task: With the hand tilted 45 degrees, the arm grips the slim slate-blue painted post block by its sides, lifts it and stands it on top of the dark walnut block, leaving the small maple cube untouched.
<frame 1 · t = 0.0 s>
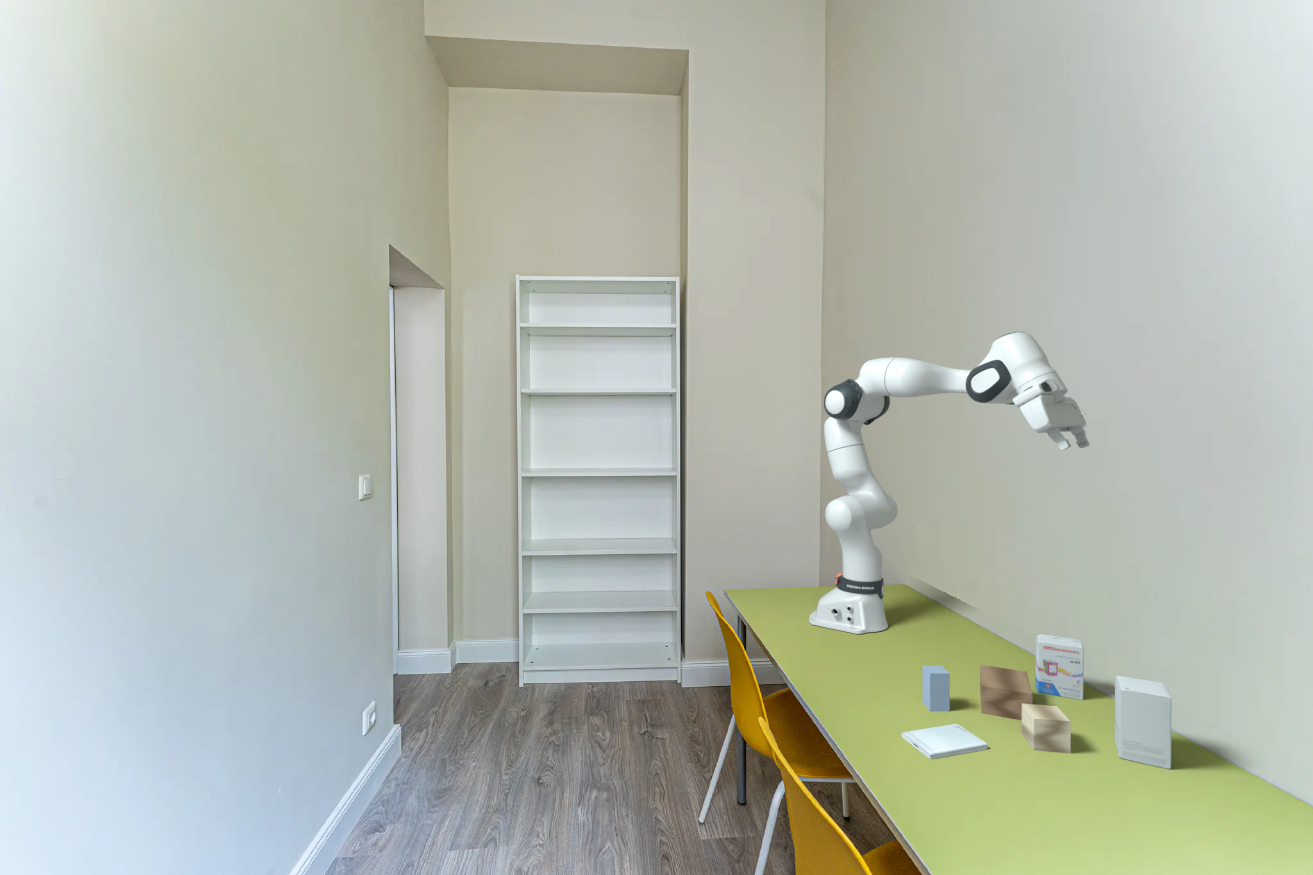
hand: (1076, 447, 133), 54 cm above the table, fingers open, 8 cm apart
maple cube: (1045, 743, 114), on the table
hard drive: (943, 746, 115), on the table
slate post: (935, 706, 129), on the table
ink box: (1058, 693, 135), on the table
supplement box: (1141, 755, 110), on the table
walnut block: (1004, 706, 129), on the table
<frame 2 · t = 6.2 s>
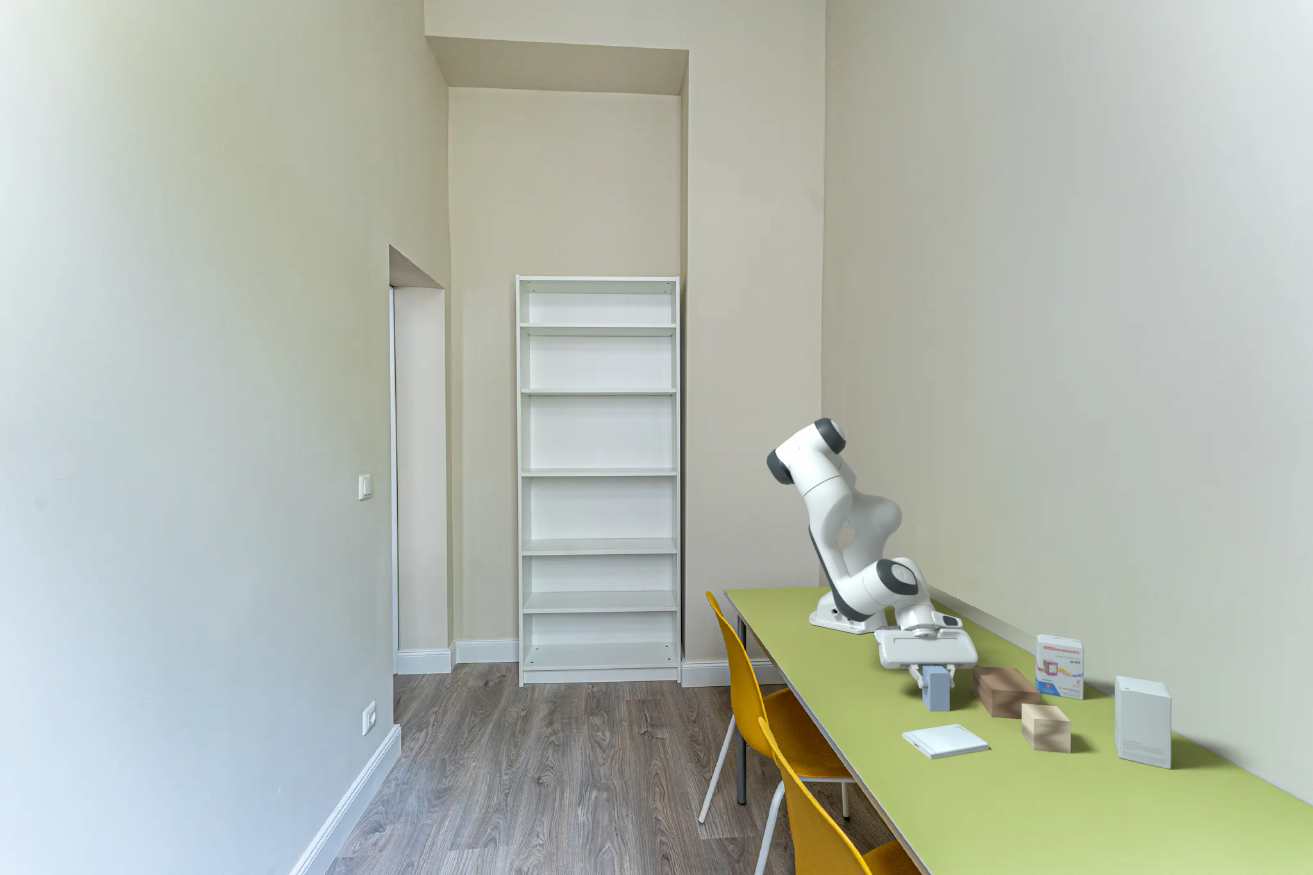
hand: (937, 687, 128), 4 cm above the table, fingers closed on slate post, 4 cm apart
slate post: (935, 706, 129), on the table, touching gripper
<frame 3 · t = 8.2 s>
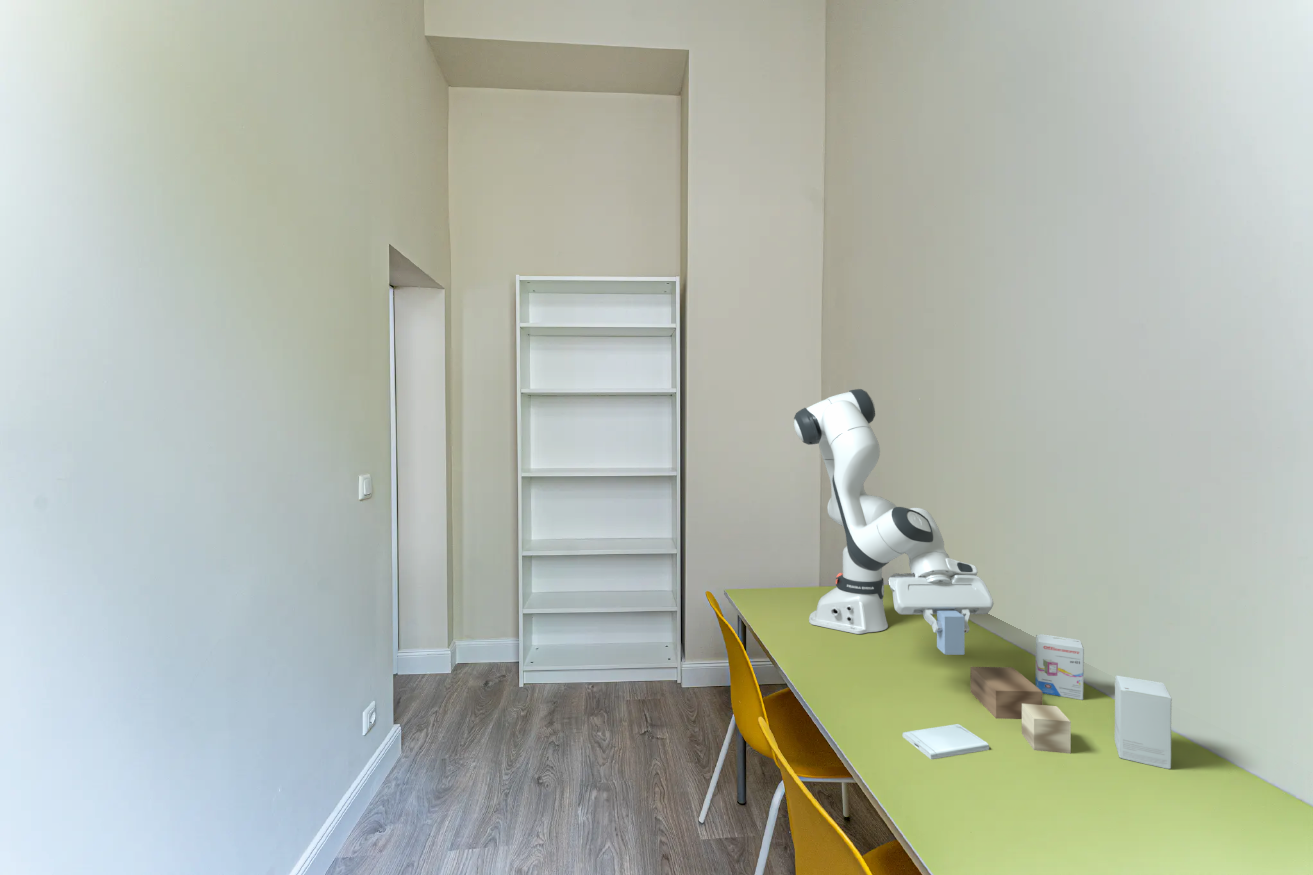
hand: (951, 631, 128), 16 cm above the table, fingers closed on slate post, 4 cm apart
slate post: (950, 650, 128), point 12 cm above the table, touching gripper
when the fingers open (11 cm above the table, at t = 10.1 s): slate post drops 1 cm, point 6 cm above the table.
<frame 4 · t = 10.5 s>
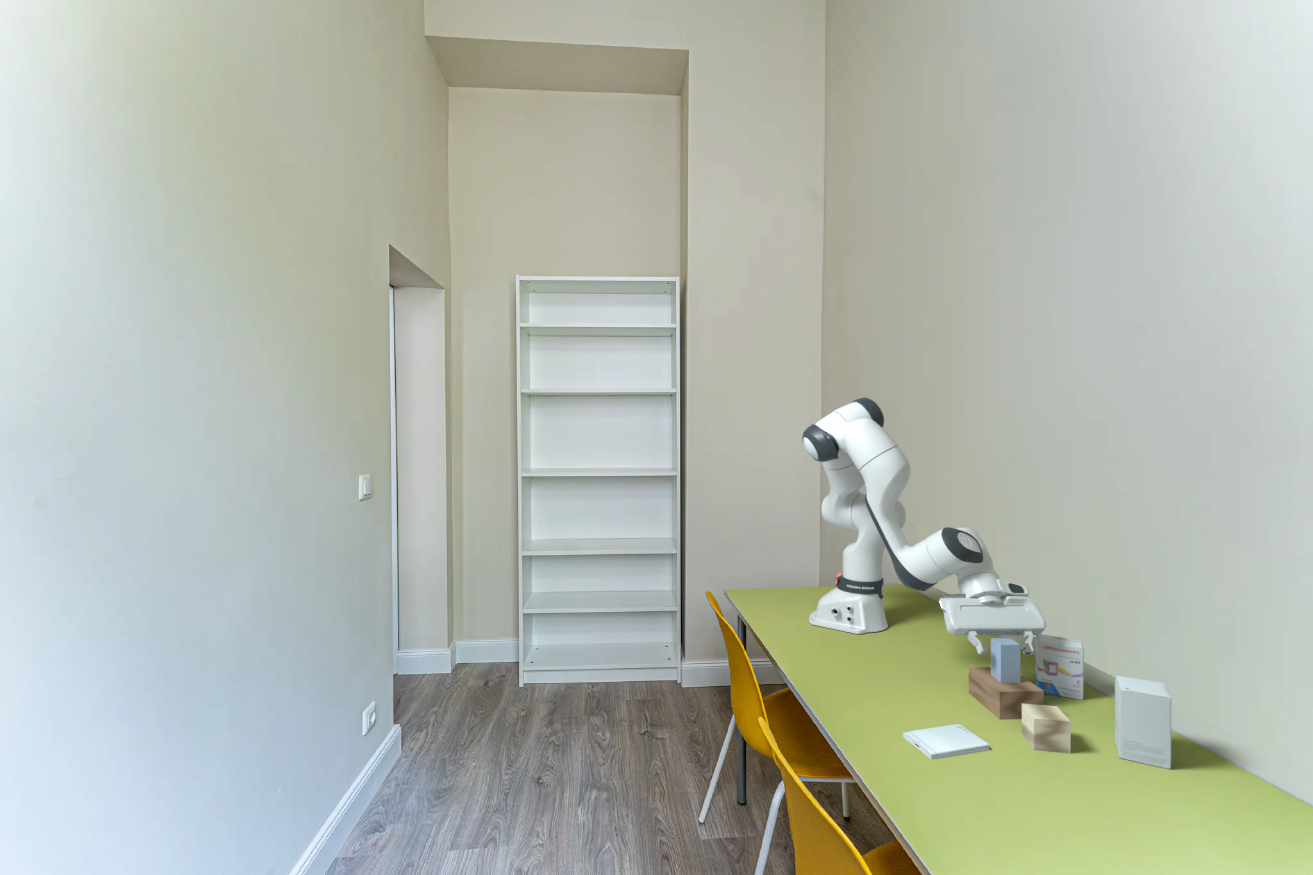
hand: (1006, 653, 128), 11 cm above the table, fingers open, 8 cm apart
slate post: (1005, 678, 129), point 6 cm above the table
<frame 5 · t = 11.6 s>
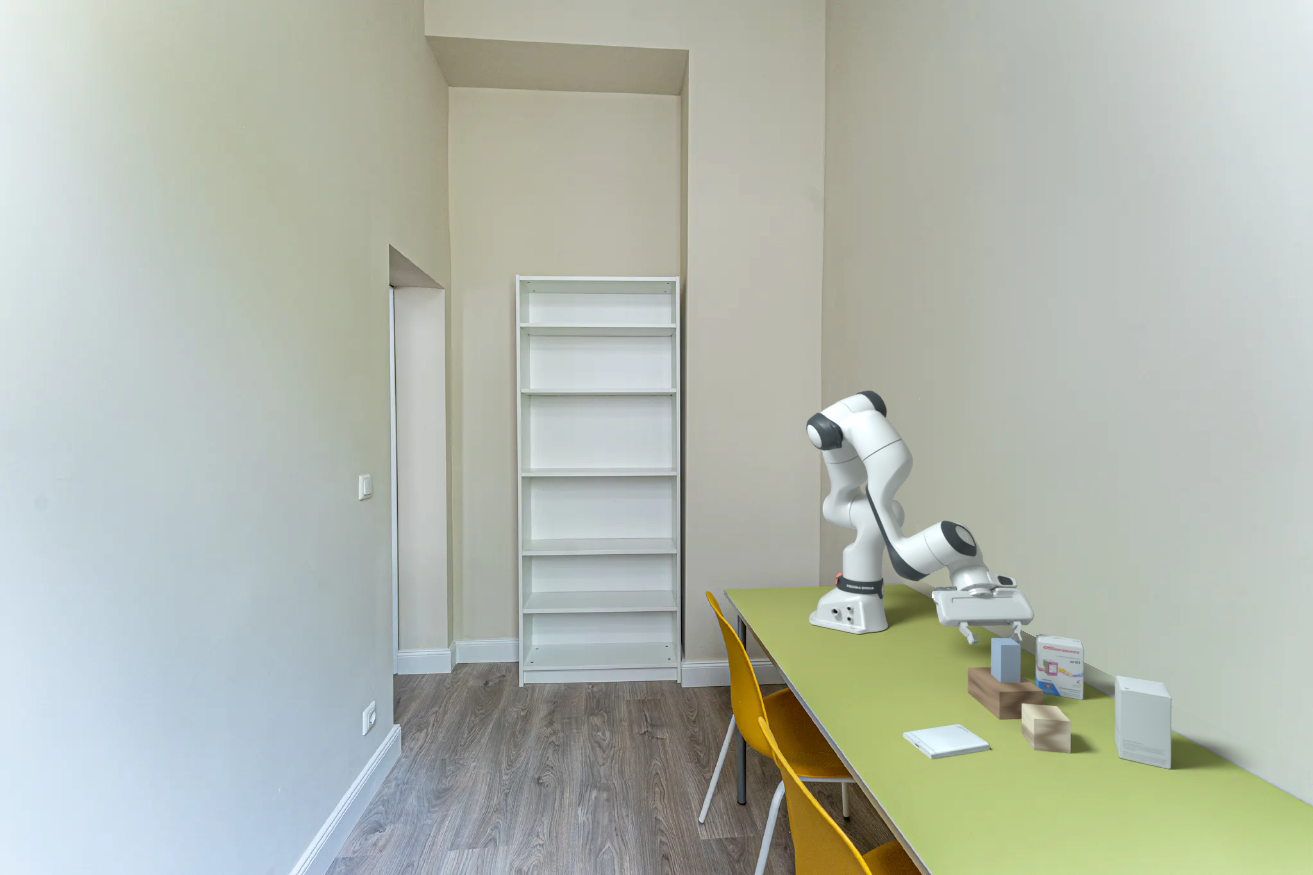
hand: (996, 642, 134), 11 cm above the table, fingers open, 8 cm apart
slate post: (1005, 678, 129), point 6 cm above the table, touching walnut block
walnut block: (1003, 706, 129), on the table, touching slate post
everything else where it was.
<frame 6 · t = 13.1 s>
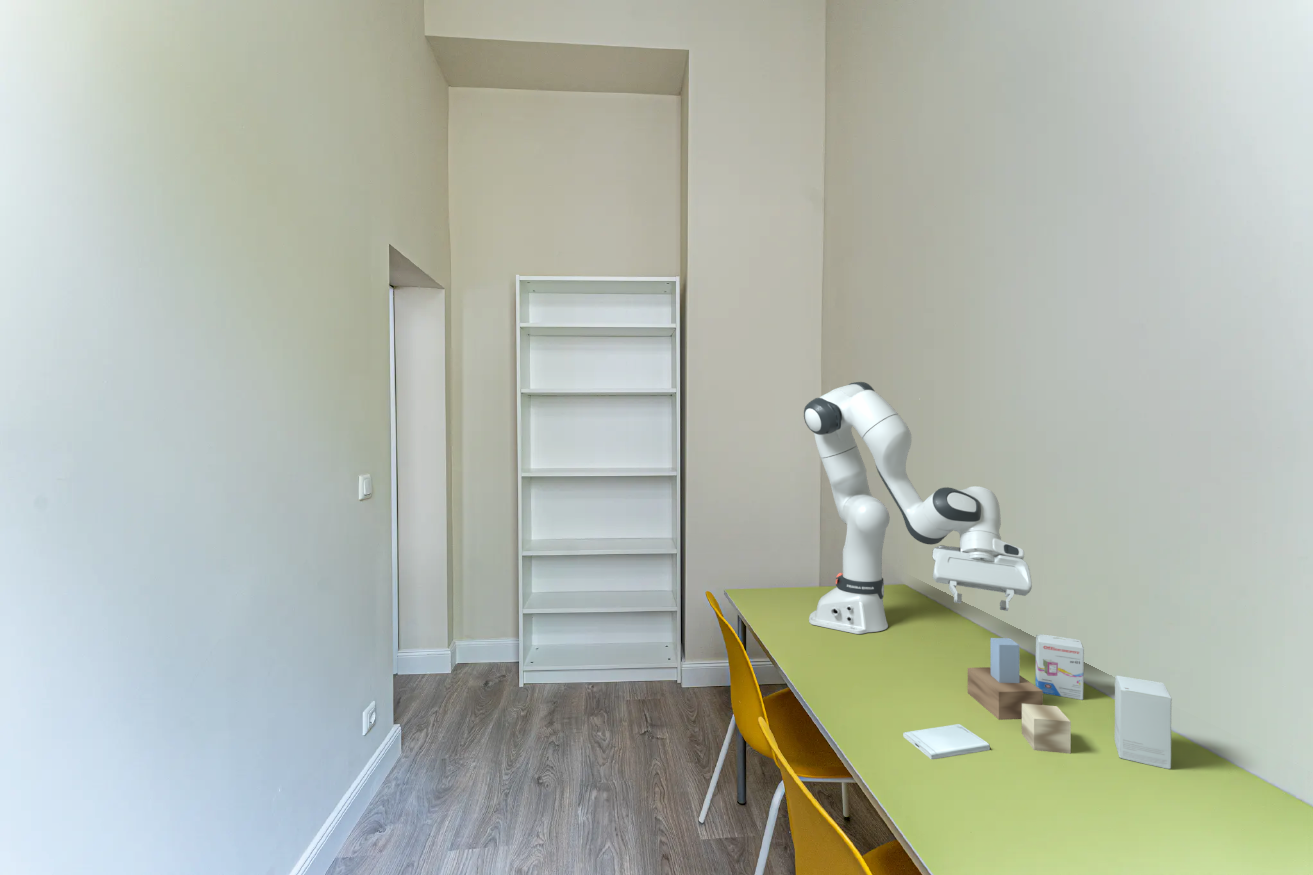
hand: (980, 605, 138), 18 cm above the table, fingers open, 8 cm apart
nothing on the table moved.
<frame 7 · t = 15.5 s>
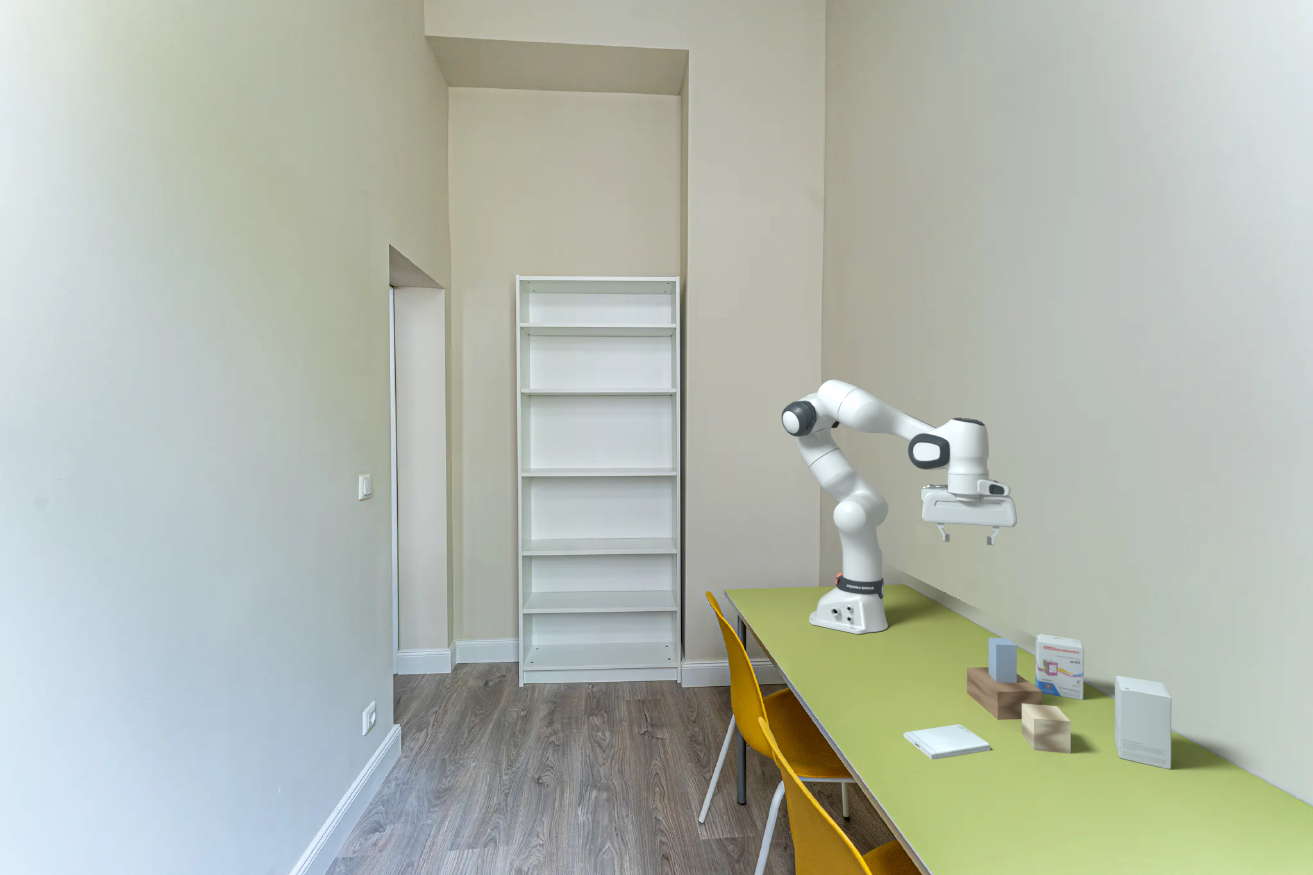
hand: (967, 543, 146), 31 cm above the table, fingers open, 8 cm apart
nothing on the table moved.
at the end: slate post inside the target area on the walnut block (0.1 cm from its centre), point 6.0 cm above the walnut block's base; slate post tilted 0°; the gripper is holding nothing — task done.
